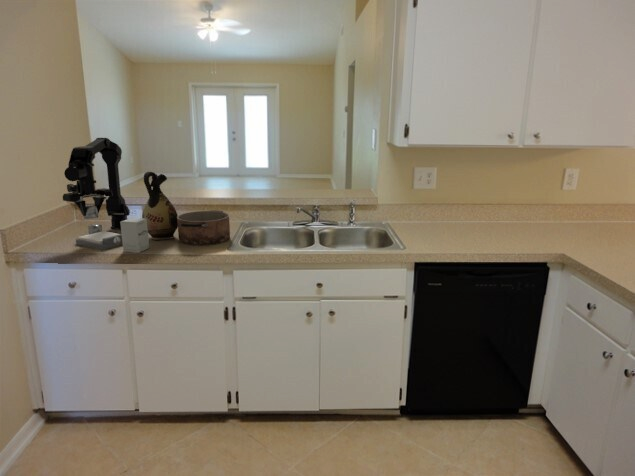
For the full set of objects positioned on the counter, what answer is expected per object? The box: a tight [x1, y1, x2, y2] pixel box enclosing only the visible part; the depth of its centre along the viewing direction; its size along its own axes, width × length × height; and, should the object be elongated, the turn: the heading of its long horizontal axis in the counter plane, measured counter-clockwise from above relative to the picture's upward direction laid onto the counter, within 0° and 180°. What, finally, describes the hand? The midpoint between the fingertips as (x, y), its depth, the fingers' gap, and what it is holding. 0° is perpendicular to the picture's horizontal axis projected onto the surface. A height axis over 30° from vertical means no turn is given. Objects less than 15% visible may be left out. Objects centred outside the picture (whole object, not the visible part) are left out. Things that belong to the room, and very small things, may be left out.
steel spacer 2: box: [87, 223, 103, 235], centre depth 191 cm, size 6×6×5 cm
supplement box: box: [120, 217, 150, 254], centre depth 169 cm, size 7×7×13 cm
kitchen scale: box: [75, 230, 123, 251], centre depth 179 cm, size 14×17×4 cm
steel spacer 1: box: [83, 204, 99, 220], centre depth 178 cm, size 6×6×5 cm
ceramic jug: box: [141, 171, 179, 241], centre depth 185 cm, size 17×15×30 cm
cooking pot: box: [177, 209, 231, 246], centre depth 188 cm, size 30×22×11 cm
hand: (90, 214), depth 179 cm, fingers closed on steel spacer 1, 5 cm apart
